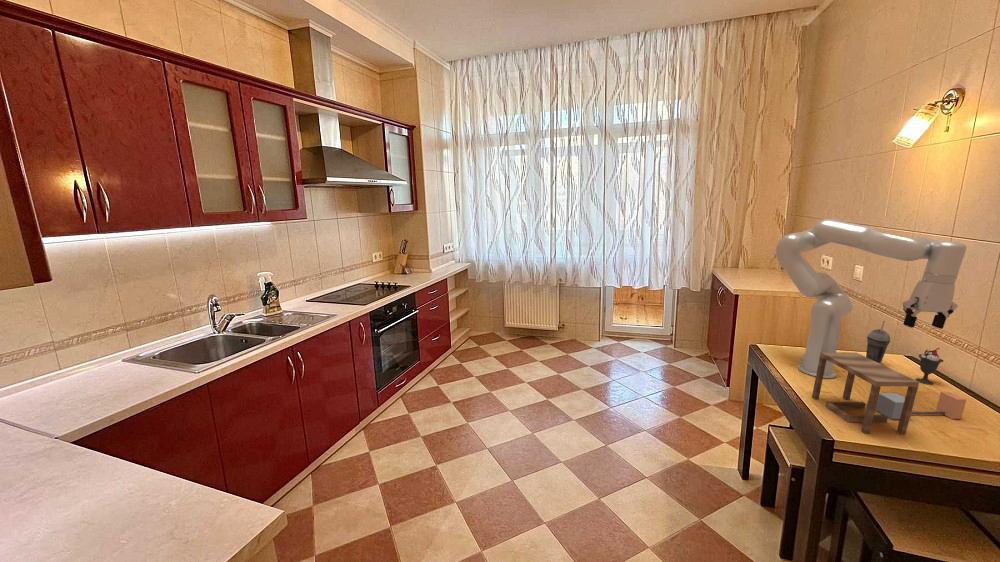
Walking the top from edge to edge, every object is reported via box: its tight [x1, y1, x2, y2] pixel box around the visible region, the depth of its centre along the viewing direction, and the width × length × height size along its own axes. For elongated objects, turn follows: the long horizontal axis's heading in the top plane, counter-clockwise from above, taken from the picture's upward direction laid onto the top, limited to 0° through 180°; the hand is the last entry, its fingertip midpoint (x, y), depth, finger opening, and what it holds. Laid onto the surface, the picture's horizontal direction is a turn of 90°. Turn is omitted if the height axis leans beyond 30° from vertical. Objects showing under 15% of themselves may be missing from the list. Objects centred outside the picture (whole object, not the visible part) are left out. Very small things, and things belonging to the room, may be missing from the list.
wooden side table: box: [811, 351, 920, 435], centre depth 132 cm, size 22×13×18 cm, turn 179°
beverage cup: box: [865, 320, 891, 364], centre depth 170 cm, size 7×7×20 cm
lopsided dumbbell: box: [875, 391, 967, 420], centre depth 133 cm, size 6×23×7 cm, turn 89°
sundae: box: [915, 347, 944, 386], centre depth 155 cm, size 7×7×15 cm
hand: (922, 326), depth 137 cm, fingers open, 9 cm apart
